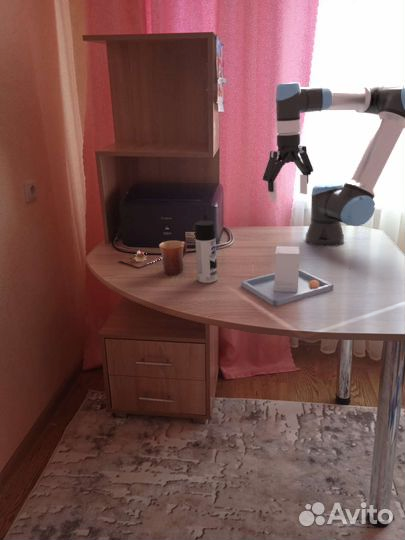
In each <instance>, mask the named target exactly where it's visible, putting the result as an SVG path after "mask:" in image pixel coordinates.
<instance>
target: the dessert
mask: <svg viewBox="0 0 405 540" xmlns="http://www.w3.org/2000/svg"><path fill="white" fill-rule="evenodd" d="M144 253H145V252H143V251H141V250H137V252H136V254H135V255H136V257H135V258H134V261H135V260H136V261H144V260H147V258H146V257H147V256H145V255H144ZM160 258H161V260H162V257H160ZM161 260H160V259H159V261H161ZM155 261H156V262H158V261H157V259H155V260H153V261H151V262H148V263H147V264H148V265H150V264H149V263H151V264H153V263H156V262H155ZM152 262H153V263H152Z"/></svg>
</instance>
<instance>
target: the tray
mask: <svg viewBox="0 0 405 540" xmlns="http://www.w3.org/2000/svg"><path fill="white" fill-rule="evenodd" d="M274 278H275V272H273V273H269V274H263V275H260V276H256V277H253V278H249V279H245V280H241V281H240V282H241V283H240V285H241V287H242V288H244V289H245V290H247V291H249V292H250V293H252V294H254V295H255V296H256V297H258V298H260V299H262V300H263V301H264V302H267V303H268V304H269V305H270V306H272V307H278V306H282V305H284V304H288V303H292V302H296V301H298V300H302V299H306V298H310V297H312V296H316V295H319V294H320V295H321V294H323V293H327V292H330V291H333V290H334V284H333V283H330V282H328V281H326V280H324V279H322V278H320V277H318V276H316V275H314V274H311V273H309V272H307V271H305V270H303V269H300V268H299V277H298V292H277V291H274ZM312 280H316V281H318V282H319V287H318V288H314V289H310V288H309V282H310V281H312Z"/></svg>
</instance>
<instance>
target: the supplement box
mask: <svg viewBox="0 0 405 540" xmlns="http://www.w3.org/2000/svg"><path fill="white" fill-rule="evenodd" d="M299 269H300V246H296V245H295V246H281V245H277V246H275V252H274V273H275V278H274V291H277V292H298V277H299Z"/></svg>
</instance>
